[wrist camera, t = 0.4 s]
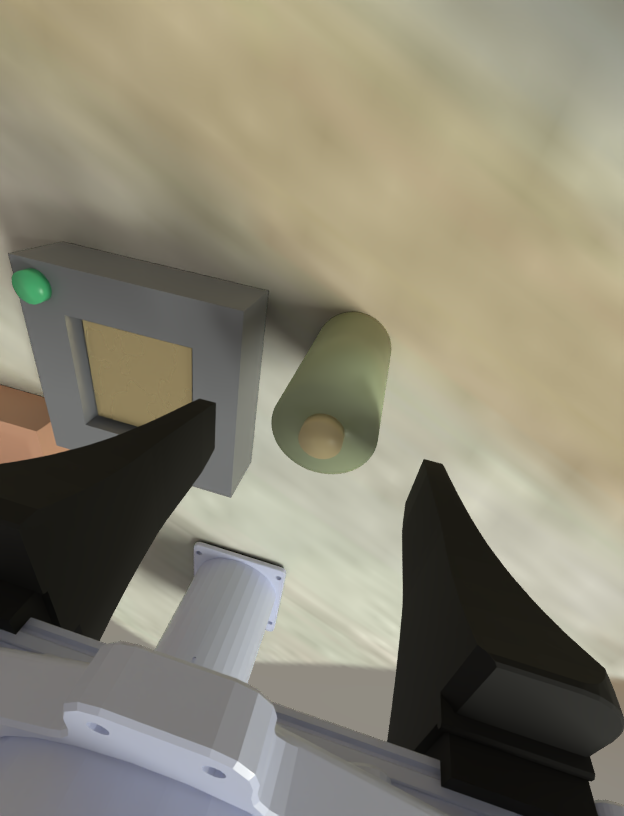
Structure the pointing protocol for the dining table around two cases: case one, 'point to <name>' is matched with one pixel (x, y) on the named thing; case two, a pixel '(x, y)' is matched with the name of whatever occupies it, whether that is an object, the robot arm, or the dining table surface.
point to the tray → (24, 427)
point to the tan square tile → (137, 374)
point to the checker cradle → (149, 316)
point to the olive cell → (336, 397)
